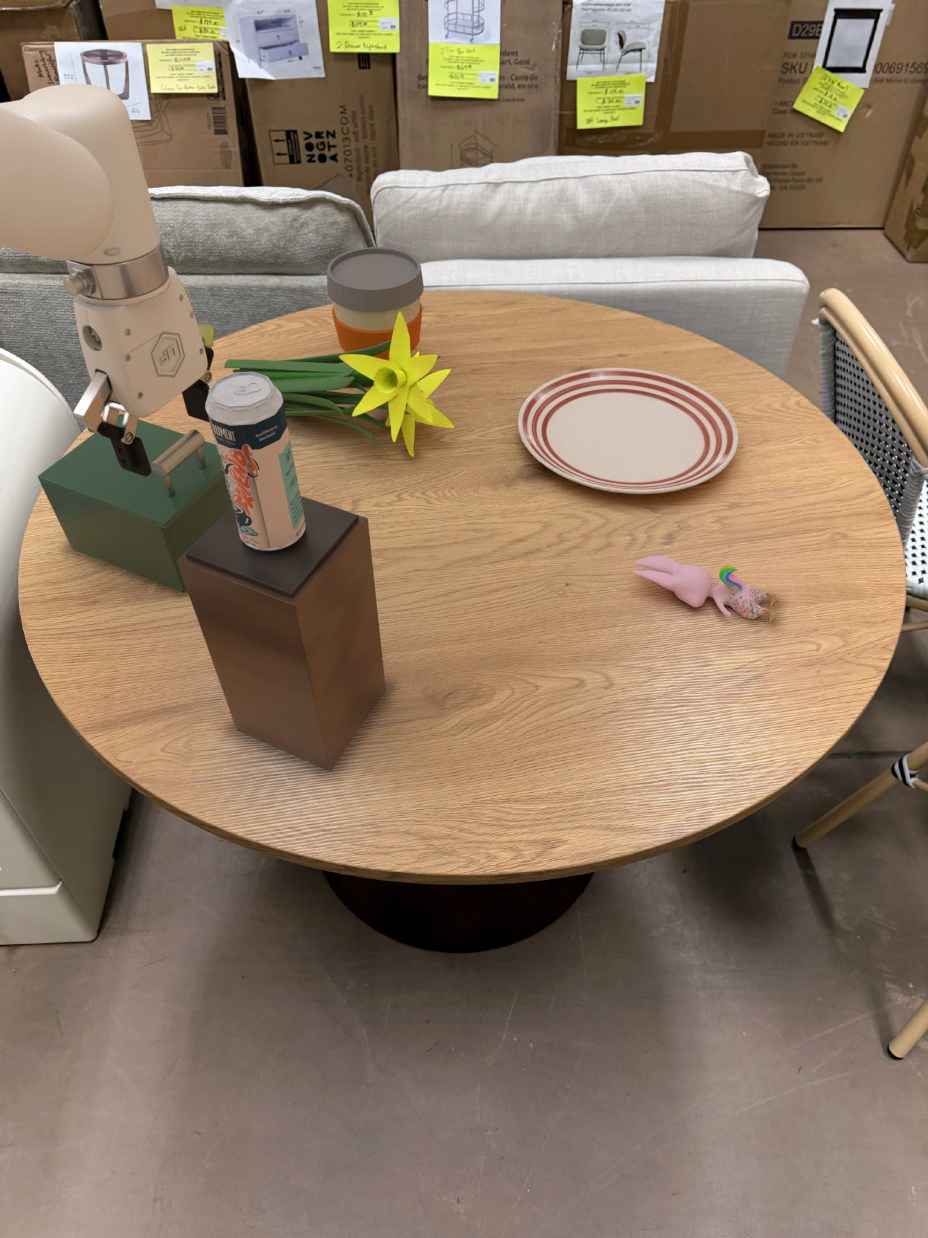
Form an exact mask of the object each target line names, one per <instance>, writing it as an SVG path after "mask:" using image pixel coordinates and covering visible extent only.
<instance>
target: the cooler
mask: <svg viewBox="0 0 928 1238" xmlns="http://www.w3.org/2000/svg"><path fill="white" fill-rule="evenodd" d="M40 485H41V488H42V490H43V491H44V494H45V496H46V498H47V501H48V502H49V504H50V506H51V509H52V510H53V512H54V515H55V516H56V519H57V521H58V522H59V525H60V528H61V529H62V531H63V533H64V536H65V537H66V539H67V541H68V544H69V546H70V548H71V550H74V551H76V552H78V553H81V554H84V555H86V556H89V557H92V558H94V559H98V560H99V561H102V562H105V563H107V564H110V565H112V566H115V567H117V568H120V569H122V570H125V571H127V572H130V573H132V574H135V575H137V576H140V577H143V578H145V579H147V580H151V581H153V582H156V583H158V584H160V585H163V586H165V587H168V588H171V589H173V590H176V591H179V592H181V593H186V591H187V588H186V586H185V583H184V580H183V577H182V574H181V571H180V569H179V566H178V563H177V560H178V559H179V558H180V557H181V556H182V555H183V554H184V553H185V552H186V551H187V550H188V549H189V548H190V547H191V546H192V545H193V544H194V543H195V542H196V541H197V540H198V539H200V538H201V537H202V536H203V535H204V534H205V533H206V532H207V531H208V530H209V529H210V528H211V527H212V526H213V525H214V524H215V523H216V522H217V521H218V520H219V519H220V518H221V517H222V516H223V515H224V514H225V513H226V512H227V511H228V510H229V509H230V508H231V507H232V503H231V499H230V495H229V492H228V488H227V484H226V480H225V477H223V478H222V479H221V480H219V481H218V482H217V483H216V484H215V485H214V486H213V487H212V488H211V489H210V490H209V491H208V492H206V493H205V494H204V495H203V496H202V497H201V498H200V499H199V500H198V501H197V502H196V503H195V504H194V505H192V506H191V507H190V508H189V509H188V510H187V511H186V512H185V513H184V514H183V515H182V516H181V517H180V518H178V519H177V520H176V521H175V522H174V523H173V524H172V525H171V526H170V527H169V528H168V529H165V528H162V527H159V526H157V525H154V524H151V523H148V522H146V521H143V520H140V519H138V518H135V517H132V516H130V515H127V514H124V513H122V512H119V511H116V510H113V509H111V508H108V507H105V506H103V505H100V504H97V503H95V502H92V501H89V500H86V499H84V498H81V497H78V496H76V495H73V494H70V493H68V492H65V491H62V490H60V489H57V488H54V487H51V486H49V485H46V484H43V483H41V482H40Z"/></svg>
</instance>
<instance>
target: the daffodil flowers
mask: <svg viewBox="0 0 928 1238" xmlns="http://www.w3.org/2000/svg"><path fill="white" fill-rule="evenodd" d="M388 349H390V352H389V359H390V361H388V360H384V359H380V358H376V357H374V356H376V355H379V354H381V353H383V352H385V351H386V350H388ZM439 358H441V355H438V354H421V355H420V351H419V350H418V351H417V352H415V356H414V357H412V358H411V357H410V337H409V333H408V329H407V325H406V323H405V320H404V318H403V316H402V314H401V312H400V311H399V313H398V315H397V319H396V322H395V326H394V330H393V335H392V340H390V341H387V342H385V343H382V344H379V345H376V346H372V347H369V348H365V349H361V350H355V351H349V352H345V351H343V352H338V353H331V354H324V355H315V356H308V357H300V358H290V359H278V360H277V359H275V360H270V359H238V358H237V359H236V358H234V359H233V358H232V359H231V358H228V359H227V360H226V361H225V362H224V366H223V367H224V369H233V370H232V373H239V372H255V373H258V374H261V375H264V376H267V377H268V378H269V379H270V381H271V382H272V383H273V385H274V386H275V387H276V388H277V389H278V390H279V391H280V393H281V395H282V398H283V403H284V409H285V414H286V417H305V416H308V417H309V416H310V417H314V418H317V419H318V418H319V419H322V420H327V421H331V422H335V423H338V424H341V425H344V426H348V427H351V428H354V429H356V430H357V431H359V432H361V433H363V434H364V435H366V436H367V437H368V438H369V439H370V440H371V441H373V442H374V443H375V444H376V445H377V446H378V447H379V448H380V449H381V450H383V451H384V452H387V451H386V449H385V448H384V446H383V445H382V444H381V442H379V440H378V439H377V438H376V437H375V436H374V435H373V433H371V432H370V431H368V430H367V429H365V428H364V427H363V426H361V425H358V424H356V423H355V422H354V423H353V422H351V421H347V420H344V419H346V416H347V417H351V418H355V419H358V420H361V421H364V422H368V423H370V424H374V425H376V426H379V427H383V428H388V427H390V435H391V439H392V442H393V443H395V442H396V441H397V437H398V434H399V432H400V429H401V432H402V436H403V440H404V443H405V447H406V450H407V452H408V454H409V455H410V456H411V457H412V458H414V457H415V450H414V445H415V432H416V431H415V430H416V422H417V423H422V424H425V425H429V426H434V427H440V428H447V429H455V425H454V423H453V422H452V421H451V420H450V419H449V418H448V417H446V416H445V415H444V414H443V413H442V412H441V411H440V410H438V409H437V408H436V406H435V405H434V404H435V403H434V402H433V400H432V399H430V398H429V396H430V395H431V394H432V393H433V392H435V390H436V389H437V388H438V387H439V386H440V385H441V384H442V382H443V381H444V380H445V379H446V378H447V376H448V375H449V374H450V372H451V370H452V368H446V369H441V370H437V371H435V372H432V373H430V374H428V373H429V372H430V371H431V370H432V369H433V368H434V366H435V364H436V362H437V360H438V359H439ZM427 374H428V375H427ZM423 377H424V378H423ZM420 379H421V380H420ZM342 389H343V390H344V389H358V390H360V391H362V392H363V393H350V392H341V391H340V390H342ZM367 389H368V391H367ZM340 405H341V406H340ZM342 405H349V406H348V407H346V406H345V407H344V406H342ZM351 405H352V406H351ZM293 407H294V408H293ZM299 408H301V409H299ZM302 409H307V410H302ZM373 409H378V410H383V411H388V417H387V418H386V421H385V423H383V422H380V420H378V419H376V418H375V417H373V416H371V415H370V414H367V412H370V411H372V410H373ZM340 415H341V416H342V417H343V418H344V419H341V418H337V417H333V416H340Z"/></svg>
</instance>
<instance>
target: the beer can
mask: <svg viewBox="0 0 928 1238" xmlns="http://www.w3.org/2000/svg"><path fill="white" fill-rule="evenodd" d="M209 388H210V389H209V394H208V397H207V400H206V405H205V408H206V412H207V413H208V417H209V421H210V423H209V424H210V427H211V428H210V429H211V432H212V435H213V439H214V444H216V447H217V450H218V454H219V458H220V462H221V465H222V469H223V473H224V477H225V480H226V484H227V488H228V492H229V495H230V499H231V503H232V507H233V510H234V514H235V518H236V522H237V525H238V529H239V534H240V538H241V539H242V541H243V542H244V543H245V544H246V545H248V546H250V547H252V548H254V549H257V550H278V549H283V548H285V547H287V546H290V545H291V544H293V543H294V542H296V541H297V540H298V539H299V538H300V537H301V536H302V535H303V533H304V531H305V526H306V523H305V518H304V512H303V507H302V501H301V496H302V495H301V491H300V485H299V480H298V474H297V470H296V469H297V468H296V464H295V459H294V454H293V448H292V442H291V437H290V431H289V425H288V420H287V416H286V414H285V412H286V411H285V409H284V407H285V406H284V403H283V398H282V395H281V393H280V391H279V390H278V389H277V388H276V387H275V386H274V385H273V383H272V382H271V381H270V379H269V378H268V377H267V376H264V375H261V374H258V373H255V372H239V373H233V372H232V373H229V374H226V375H225V376H223V377H220V378H218V379H216V380H215V381H214V382H213V383H212V385H211V386H210V387H209Z"/></svg>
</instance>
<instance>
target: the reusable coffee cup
mask: <svg viewBox="0 0 928 1238" xmlns="http://www.w3.org/2000/svg"><path fill="white" fill-rule="evenodd" d="M326 284H327V285H326V292H327V295H328V298H329V299H330V300H331V303H332V309H331V316H332V319H333V323H334V327H335V331H336V335H337V339H338V343H339V346H340V348H341V349H342V350H343V352H349V351H355V350H361V349H365V348H369V347H372V346H376V345H379V344H382V343H385V342H387V341H390V340H392V335H393V330H394V326H395V322H396V319H397V315H398V313H399V311H400V312H401V314H402V316H403V318H404V320H405V323H406V325H407V329H408V333H409V337H410V357H411V358H412V357H414V356H415V354H416V350H417V349H416V348H417V347H418V345H419V343H420V338H421V329H422V328H421V327H422V319H423V318H422V317H423V306H422V303H421V298H422V297H421V296H422V295H423V293H424V291H425V290H424V287H425V285H424V279H423V272H422V265H421V263H420V261H419V260H418V258H417V257H416V256H414V255H412V254H411V253H410V252H407V251H405V250H401V249H398V248H393V247H385V246H384V247H383V246H370V247H369V246H368V247H361V248H356V249H352V250H351V249H350V250H348V251H346V252H343V253H341V254H339V255H337V256H335V257H334V258H333V259H331V260H330V262H329V263H328V265H327V268H326ZM389 352H390V349H388V350H386V351H385V352H383V353H381V354H379V355H376V356H374V357H376V358H380V359H384V360H388V361H390V359H389Z"/></svg>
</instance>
